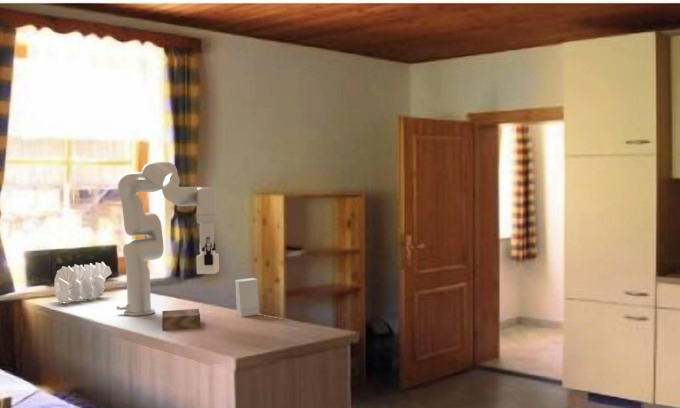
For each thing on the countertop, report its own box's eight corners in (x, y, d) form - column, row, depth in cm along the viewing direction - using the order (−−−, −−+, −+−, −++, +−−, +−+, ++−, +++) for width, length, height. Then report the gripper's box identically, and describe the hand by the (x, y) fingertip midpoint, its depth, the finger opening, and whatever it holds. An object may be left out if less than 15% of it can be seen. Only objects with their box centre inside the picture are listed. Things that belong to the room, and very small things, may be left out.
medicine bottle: (219, 271, 287) (218, 241, 287) (214, 274, 280) (214, 242, 279) (201, 271, 288) (200, 241, 287) (196, 274, 281) (195, 243, 280)
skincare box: (255, 312, 306) (254, 277, 306) (259, 315, 301) (258, 279, 300) (235, 314, 302) (234, 279, 302) (240, 317, 297) (239, 280, 296)
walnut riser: (162, 330, 273) (162, 317, 273) (162, 323, 287) (162, 311, 287) (200, 328, 277) (200, 314, 276) (199, 321, 290) (198, 308, 290)
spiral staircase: (53, 311, 344) (99, 301, 363) (71, 298, 333) (118, 288, 353) (41, 276, 347) (87, 267, 367) (59, 262, 337) (105, 254, 357)
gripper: (195, 218, 290) (196, 261, 291) (198, 220, 274) (199, 266, 274) (214, 217, 292) (215, 260, 293) (218, 220, 275) (219, 265, 276)
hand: (207, 263), depth 284 cm, fingers closed on medicine bottle, 8 cm apart
